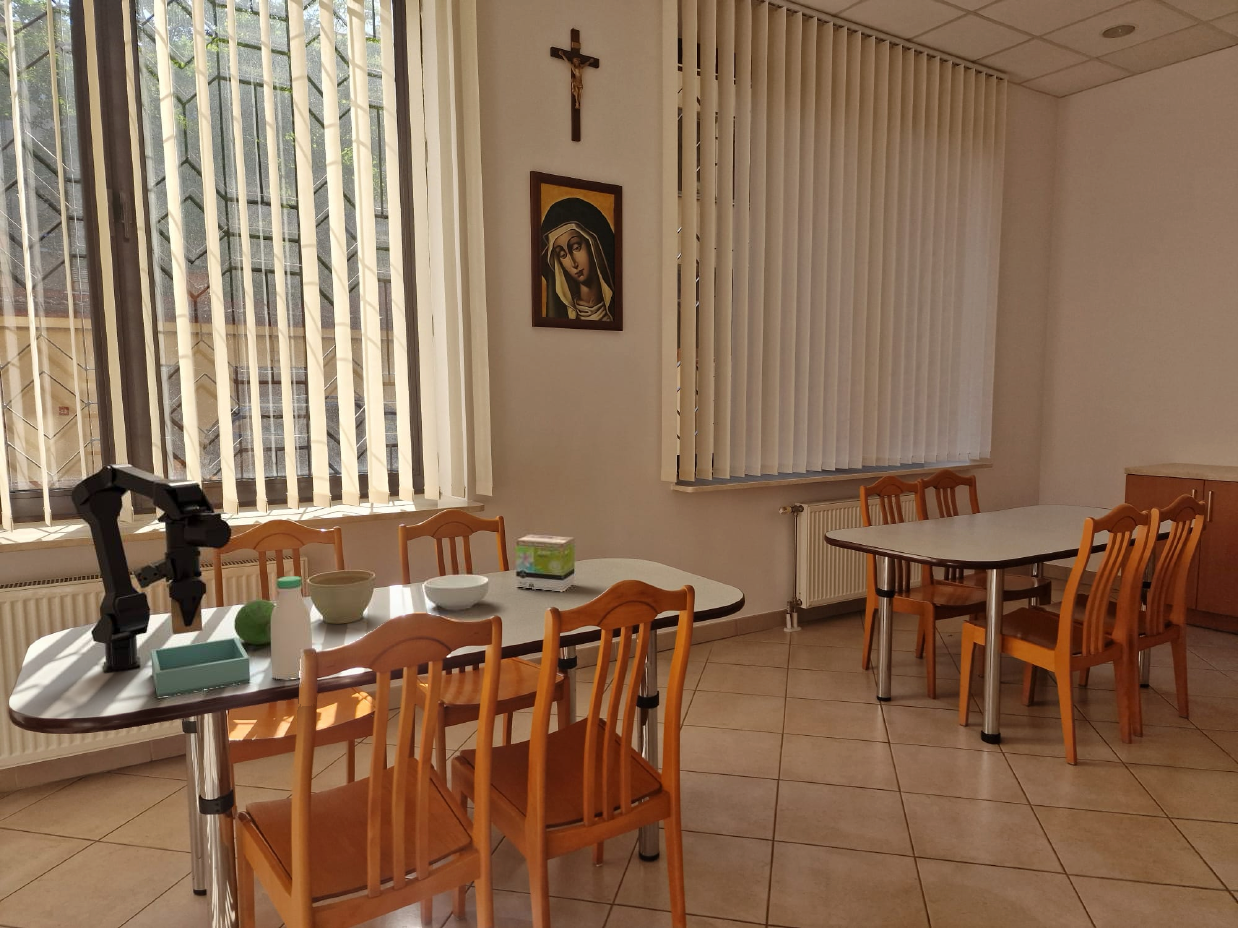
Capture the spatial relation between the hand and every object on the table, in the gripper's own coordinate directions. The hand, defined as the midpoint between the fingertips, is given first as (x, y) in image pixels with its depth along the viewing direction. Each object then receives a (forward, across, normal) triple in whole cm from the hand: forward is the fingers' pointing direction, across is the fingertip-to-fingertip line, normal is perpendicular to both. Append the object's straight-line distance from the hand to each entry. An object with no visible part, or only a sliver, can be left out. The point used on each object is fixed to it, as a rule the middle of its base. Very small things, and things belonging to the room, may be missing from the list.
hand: (187, 622), depth 160 cm
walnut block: (+1, 0, 0) cm, 1 cm away
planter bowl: (+12, -29, +36) cm, 48 cm away
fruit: (+12, -18, +15) cm, 26 cm away
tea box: (+12, -33, +95) cm, 101 cm away
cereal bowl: (+12, -26, +65) cm, 71 cm away
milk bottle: (+12, +7, +18) cm, 23 cm away
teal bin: (+12, 0, +2) cm, 12 cm away
